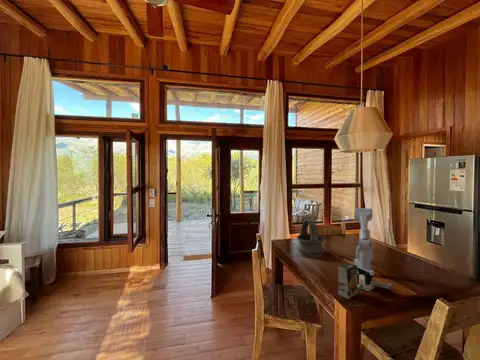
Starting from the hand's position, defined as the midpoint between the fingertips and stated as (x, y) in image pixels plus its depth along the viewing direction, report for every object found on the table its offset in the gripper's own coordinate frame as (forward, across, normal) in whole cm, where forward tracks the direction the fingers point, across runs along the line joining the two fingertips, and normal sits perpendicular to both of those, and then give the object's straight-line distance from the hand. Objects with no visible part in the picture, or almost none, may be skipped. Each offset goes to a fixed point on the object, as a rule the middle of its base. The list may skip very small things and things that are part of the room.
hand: (365, 282), depth 142 cm
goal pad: (+3, 0, 0) cm, 3 cm away
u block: (+2, 0, 0) cm, 2 cm away
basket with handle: (+3, +60, +11) cm, 61 cm away
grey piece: (+3, -3, -4) cm, 6 cm away
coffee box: (+3, -7, +14) cm, 16 cm away
